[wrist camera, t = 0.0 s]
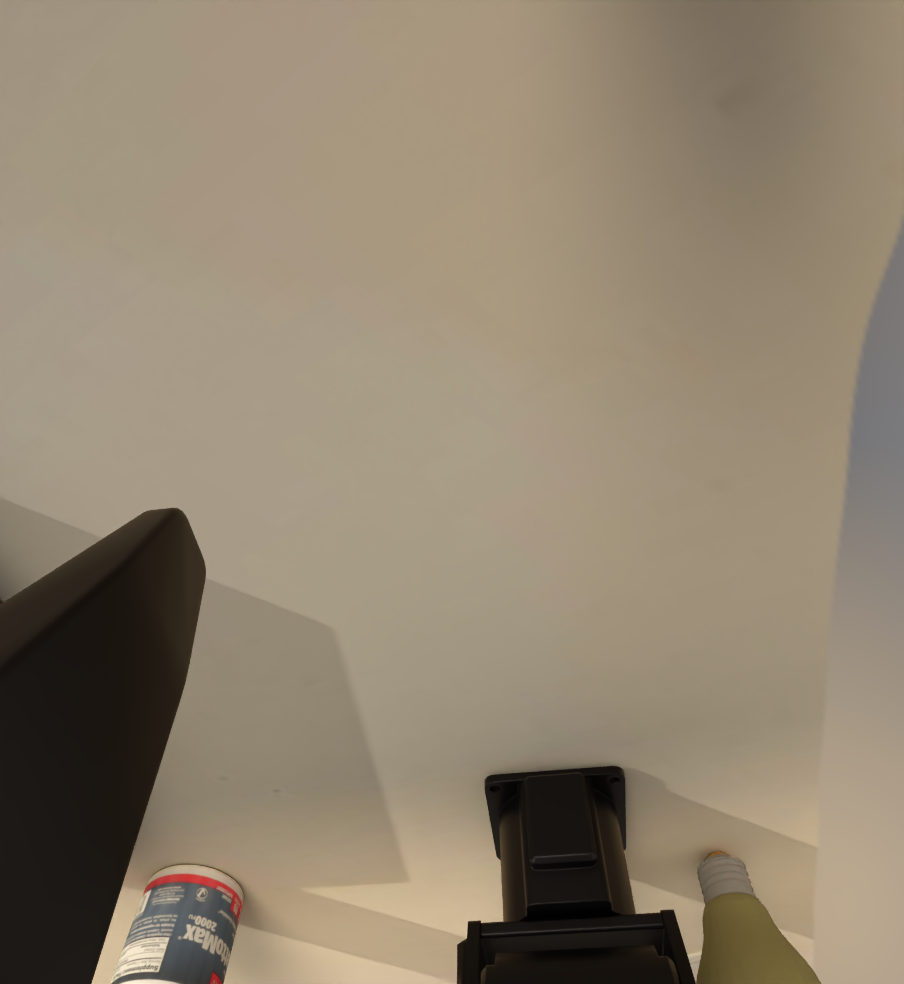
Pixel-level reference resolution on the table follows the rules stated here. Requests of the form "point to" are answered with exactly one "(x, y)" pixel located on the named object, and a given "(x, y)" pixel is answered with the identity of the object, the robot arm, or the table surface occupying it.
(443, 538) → the table surface
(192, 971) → the pill bottle
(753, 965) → the light bulb
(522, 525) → the table surface
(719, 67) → the table surface
